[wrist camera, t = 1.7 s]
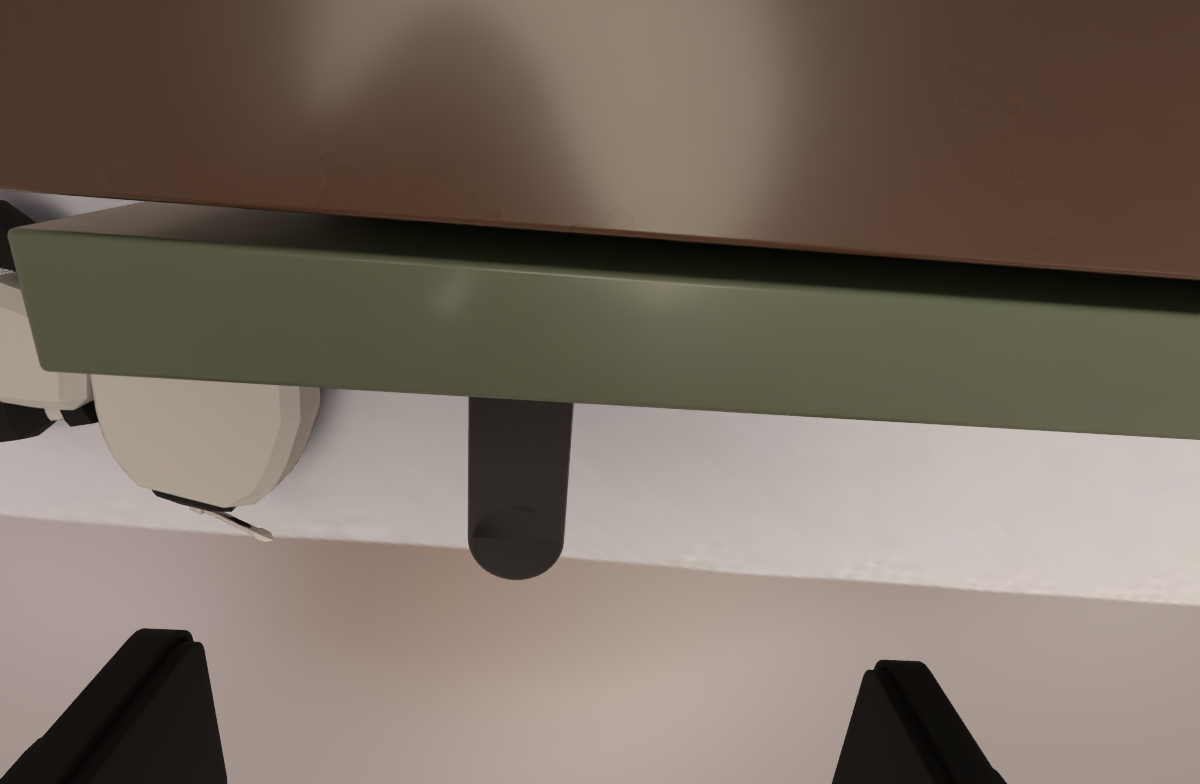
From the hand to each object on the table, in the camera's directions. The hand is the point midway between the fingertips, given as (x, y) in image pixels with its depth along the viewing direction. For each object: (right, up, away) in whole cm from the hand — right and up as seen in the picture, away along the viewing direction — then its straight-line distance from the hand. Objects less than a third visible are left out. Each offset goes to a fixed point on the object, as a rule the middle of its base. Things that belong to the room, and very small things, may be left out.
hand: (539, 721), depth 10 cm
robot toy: (-18, +7, +20) cm, 28 cm away
